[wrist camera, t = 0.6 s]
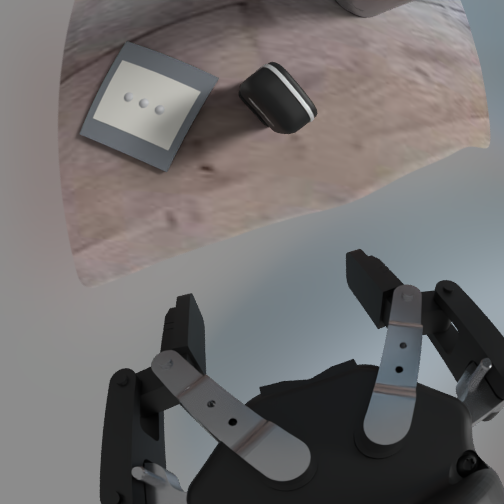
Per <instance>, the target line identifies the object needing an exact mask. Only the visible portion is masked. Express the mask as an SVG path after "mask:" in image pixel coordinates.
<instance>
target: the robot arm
mask: <svg viewBox="0 0 504 504" xmlns="http://www.w3.org/2000/svg"><path fill="white" fill-rule="evenodd" d="M336 1H337V2H338V3H339V4H340V5H341V6H342V7H343V8H344V9H346V10H348V11H349V12H351V13H353V14H355V15H358V16H361V17H374V16H376V15H379V14H381V13H383V12H386V11H388V10H391V9H393V8H396V7H399V6H401V5H404V4H407V3H409V2H412V1H415V0H336ZM346 278H347V283H348V286H349V288H350V289H351V291H352V292H353V294H354V295H355V296H356V298H357V299H358V301H359V302H360V303H361V305H362V306H363V308H364V309H365V311H366V312H367V314H368V315H369V316H370V318H371V319H372V321H373V322H374V324H375V325H376V327H377V328H378V329H380V328H382V327H385V326H386V327H387V329H388V330H387V335H386V340H385V345H384V350H383V355H382V358H381V363H380V367H378V366H375V365H366V364H364V365H363V364H362V365H357V364H356V362H355V360H354V359H352V360H349V361H346V362H344V363H341V364H338V365H335V366H332V367H330V368H329V369H327V370H325V371H324V372H322V373H320V374H318V375H317V376H315V377H313V378H311V379H308V380H295V381H282V382H279V383H275V384H271V385H267V386H263V387H260V392H261V394H259V395H257V396H256V397H254V398H252V399H251V400H250V401H248V402H247V403H246V404H245V405H244V404H243V403H242V402H240V401H239V400H238V399H236V398H235V397H234V396H232V395H231V394H230V393H229V392H227V391H226V390H225V389H224V388H222V387H221V386H220V385H218V384H217V383H216V382H215V381H214V380H213V379H211V378H210V377H209V376H208V375H206V359H205V327H204V321H203V317H202V315H201V312H200V310H199V308H198V305H197V303H196V301H195V299H194V296H193V294H192V293H191V294H187V295H182V296H178V297H177V301H176V307H174V308H170V309H169V311H168V313H167V314H166V316H165V323H164V329H163V330H164V331H163V336H162V343H161V351H160V353H159V354H158V355H156V356H155V358H154V359H153V361H152V363H151V367H149V368H147V369H145V370H143V371H140V372H138V373H136V374H135V372H134V371H133V370H131V369H128V368H125V369H121V370H119V371H117V372H116V373H115V374H114V375H113V376H112V378H111V380H110V384H109V390H108V396H107V403H106V410H105V418H104V427H103V439H102V450H101V467H100V501H101V504H504V488H503V485H502V483H501V481H500V479H499V476H498V475H497V473H496V472H495V471H494V470H493V469H492V468H491V467H490V466H488V465H487V464H486V463H485V462H484V461H482V459H481V458H480V457H479V456H478V455H477V453H476V451H475V448H474V444H473V438H472V427H473V426H474V425H476V424H477V423H479V422H480V421H489V420H491V419H492V418H494V416H496V415H497V414H498V413H499V411H500V410H501V409H502V408H503V407H504V337H503V336H502V335H501V333H500V332H499V331H498V329H497V328H496V327H495V326H494V325H493V323H492V322H491V321H490V320H489V319H488V317H487V316H486V315H485V314H484V313H483V312H482V311H481V309H480V308H479V307H478V306H477V305H476V304H475V303H474V302H473V301H472V299H471V298H470V297H469V296H468V295H467V294H466V293H465V292H464V291H463V290H462V289H461V288H460V287H459V286H458V285H457V284H456V283H454V282H452V281H448V280H443V281H440V282H438V283H437V284H436V287H435V291H426V292H420V290H419V289H418V288H417V287H415V286H412V285H404V284H403V283H402V282H401V281H400V280H399V279H398V278H397V277H396V276H395V275H394V274H393V273H392V272H391V271H390V270H389V269H388V267H387V266H385V264H384V263H383V262H381V261H380V259H378V258H375V257H373V256H367V255H366V254H365V253H364V252H363V251H362V250H361V249H358V250H355V251H351V252H348V253H347V254H346ZM451 321H452V323H453V324H454V325H455V327H456V328H457V330H458V331H457V330H456V329H455V327H454V326H453V325H452V323H451ZM422 335H427V336H428V337H429V339H430V340H431V342H432V343H433V345H434V346H435V348H436V349H437V351H438V352H439V354H440V355H441V357H442V359H443V360H444V362H445V363H446V365H447V366H448V368H449V370H450V371H451V373H452V374H453V376H454V378H455V380H456V381H457V386H456V394H457V396H458V397H457V398H456V397H453V396H451V395H448V394H445V393H443V392H440V391H438V390H435V389H432V388H430V387H427V386H425V385H422V384H420V383H418V382H417V379H418V372H419V364H420V354H421V345H422ZM178 404H180V405H181V406H182V407H183V408H184V409H185V410H186V411H187V412H188V413H189V414H190V415H191V416H192V417H193V418H194V419H195V420H196V421H197V422H198V423H199V424H200V425H201V426H202V427H203V428H204V429H205V430H206V431H207V432H208V433H209V434H210V435H211V436H212V437H213V438H214V439H215V440H216V441H218V445H217V446H216V448H215V449H214V451H213V452H212V454H211V455H210V457H209V458H208V460H207V461H206V463H205V464H204V466H203V467H202V468H201V470H200V471H199V473H198V474H197V475H196V477H195V478H194V479H193V481H192V482H191V484H190V486H189V488H188V491H187V492H184V491H183V489H182V488H181V486H180V483H179V480H178V478H177V477H176V476H175V475H174V474H173V473H171V472H170V471H168V470H166V459H165V441H164V410H166V409H169V408H171V407H173V406H176V405H178Z"/></svg>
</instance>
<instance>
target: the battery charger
mask: <svg viewBox="0 0 504 504" xmlns="http://www.w3.org/2000/svg"><path fill="white" fill-rule="evenodd" d="M239 96H240V98H241V99H242V100H243V102H244V103H245V104H246V105H247V106H248V107H249V108H250V109H251V110H252V111H253V113H254V114H255V115H256V116H257V117H258V118H259V119H260V120H261V122H262V123H263V124H264V125H266V126H268V127H270V128H271V129H272V130H273V131H274V132H277V133H281V134H291V133H295V132H296V131H298V130H300V129H301V128H302V127H303V126H305V125H306V124H307V123H309V122H311V121H312V120H314V118H315V117H316V115H317V109H316V107H315V105H314V104H313V102H312V101H311V100H310V98H309V97H308V96H307V94H306V93H305V92H304V91H303V89H302V88H301V87H300V86H299V85H298V83H297V82H296V81H295V80H294V79H293V77H292V76H291V75H290V74H289V73H288V72H287V71H286V70H285V69H284V68H283V67H282V66H281V65H279V64H278V63H275V62H270V63H268V64H265V65H263V66H262V67H260V68H259V69H258V70H257V71H256V72H255V73H254V74H252V75H251V76H250V77H248V78H247V79H246V80H245V81H244V82H243V83H242V84H241V86H240V91H239Z"/></svg>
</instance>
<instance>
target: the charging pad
mask: <svg viewBox="0 0 504 504" xmlns="http://www.w3.org/2000/svg"><path fill="white" fill-rule="evenodd" d="M218 79H219V78H217V77H215V76H213V75H211V74H209V73H207V72H205V71H203V70H200V69H198V68H196V67H194V66H191V65H189V64H187V63H184V62H182V61H180V60H177V59H175V58H172V57H170V56H167V55H165V54H162V53H159V52H157V51H154V50H151V49H149V48H146V47H143V46H140V45H137V44H134V43H131V42H128V41H126V43H125V44H124V46H123V48H122V49H121V51H120V52H119V54H118V56H117V58H116V59H115V61H114V63H113V64H112V66H111V68H110V70H109V72H108V73H107V75H106V77H105V79H104V81H103V83H102V85H101V87H100V89H99V91H98V93H97V95H96V97H95V99H94V101H93V103H92V106H91V108H90V110H89V112H88V115H87V117H86V119H85V122H84V124H83V127H82V129H81V132H80V135H83V136H85V137H88V138H90V139H92V140H95V141H97V142H99V143H102V144H104V145H106V146H109V147H111V148H113V149H116V150H118V151H120V152H123V153H125V154H127V155H130V156H132V157H134V158H136V159H139V160H141V161H143V162H145V163H148V164H150V165H152V166H154V167H156V168H159V169H161V170H163V171H165V172H167V171H168V169H169V167H170V165H171V163H172V161H173V159H174V157H175V155H176V153H177V151H178V149H179V147H180V145H181V143H182V142H183V140H184V138H185V136H186V134H187V132H188V130H189V129H190V127H191V125H192V123H193V121H194V120H195V118H196V116H197V114H198V112H199V111H200V109H201V107H202V106H203V104H204V102H205V101H206V99H207V97H208V96H209V94H210V92H211V91H212V89H213V87H214V86H215V84H216V83H217V81H218Z"/></svg>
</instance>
